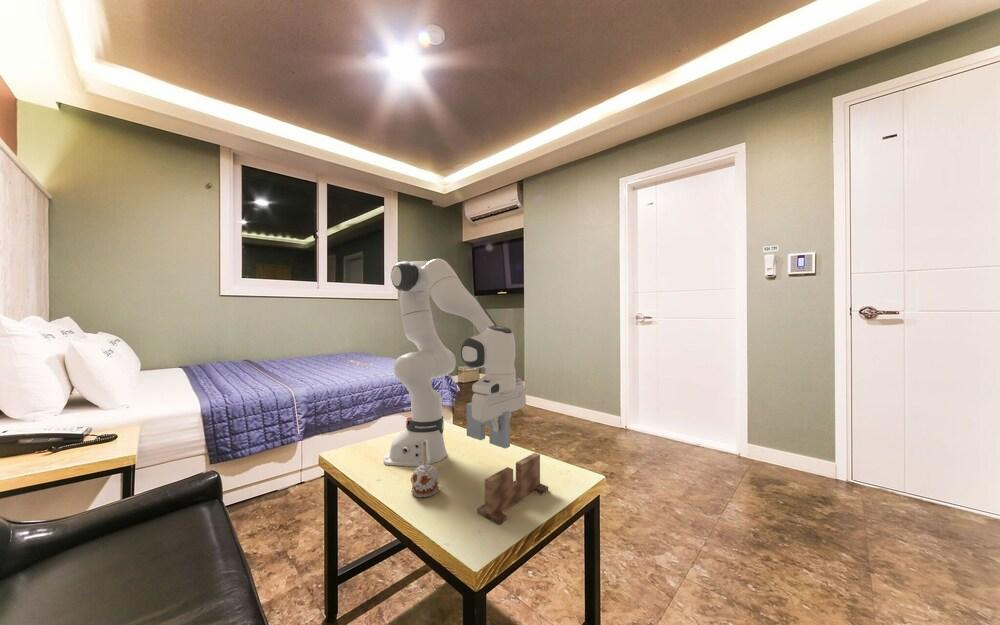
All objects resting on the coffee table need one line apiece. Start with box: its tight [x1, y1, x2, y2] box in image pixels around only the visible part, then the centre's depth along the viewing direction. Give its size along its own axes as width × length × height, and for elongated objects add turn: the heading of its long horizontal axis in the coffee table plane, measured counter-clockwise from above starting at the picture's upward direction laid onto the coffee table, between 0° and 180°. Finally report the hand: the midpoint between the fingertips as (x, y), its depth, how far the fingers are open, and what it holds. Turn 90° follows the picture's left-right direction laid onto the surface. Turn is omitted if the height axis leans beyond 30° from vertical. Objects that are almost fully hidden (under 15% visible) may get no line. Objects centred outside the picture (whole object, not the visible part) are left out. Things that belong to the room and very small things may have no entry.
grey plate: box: [465, 402, 511, 449], centre depth 107 cm, size 16×2×10 cm, turn 48°
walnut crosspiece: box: [476, 452, 549, 526], centre depth 100 cm, size 22×8×10 cm, turn 139°
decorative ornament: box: [410, 442, 440, 498], centre depth 106 cm, size 8×8×15 cm
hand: (500, 429), depth 103 cm, fingers closed on grey plate, 2 cm apart
